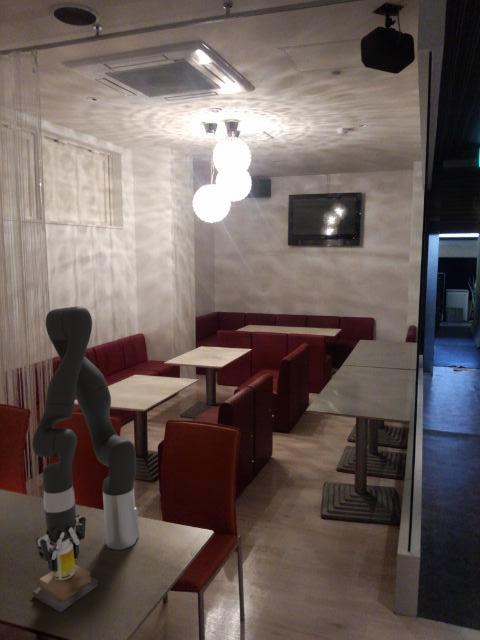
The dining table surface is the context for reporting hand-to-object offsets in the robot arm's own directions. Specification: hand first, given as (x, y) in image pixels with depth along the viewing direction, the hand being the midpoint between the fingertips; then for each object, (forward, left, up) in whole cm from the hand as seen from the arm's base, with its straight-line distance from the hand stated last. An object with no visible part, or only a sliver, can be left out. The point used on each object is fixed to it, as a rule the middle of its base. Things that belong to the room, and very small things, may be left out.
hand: (64, 563), depth 134 cm
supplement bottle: (0, 0, -3) cm, 3 cm away
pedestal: (0, 0, -8) cm, 8 cm away
